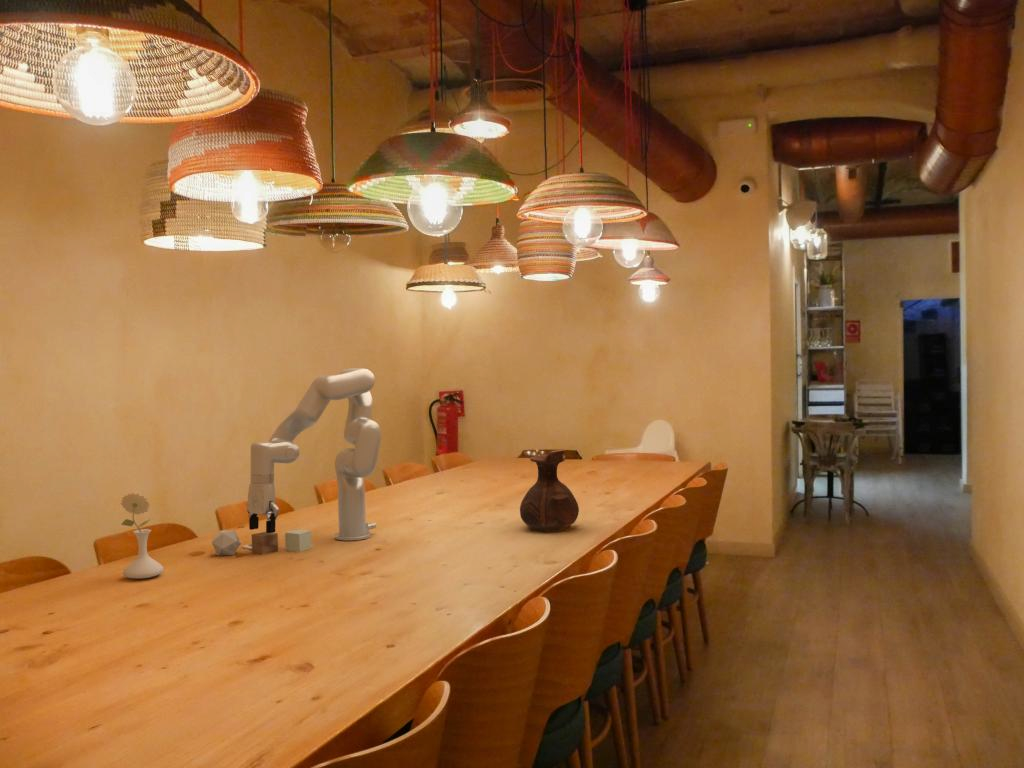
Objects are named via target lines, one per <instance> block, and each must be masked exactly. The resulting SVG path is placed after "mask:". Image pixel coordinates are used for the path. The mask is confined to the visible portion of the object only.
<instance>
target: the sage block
mask: <svg viewBox="0 0 1024 768" xmlns="http://www.w3.org/2000/svg"><path fill="white" fill-rule="evenodd" d="M284 537H285V539H284V540H285V547H284V548H285V551H287V550H288V551H289V552H297V551H298V552H299V553H301V552H303V551H306V550H309V549H312V530H307V529H294V530H289V531H287V532H284ZM288 551H287V552H288Z"/></svg>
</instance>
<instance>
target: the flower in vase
mask: <svg viewBox="0 0 1024 768" xmlns="http://www.w3.org/2000/svg"><path fill="white" fill-rule="evenodd" d="M121 499H122V500H121V502H120V505H122V508H123V509H125V511H126V512H128V513H130V514H132V520H131V519H124V521H123V522H122V523H121V525H122V526H126V527H132V526H134V525H135V526H136V528H137V529H136V530H133V531H132V533H133V534H134V535H135V537H136V539H137V546H138V553H137V556H136V558H135V559H134V560H132V561H131V563H129V564H127V566H126V567H125V568H124V569H123V571H122V576H124V577H125V578H128V579H134V580H137V579H138V580H139V579H141V580H143V579H149V578H153V577H156V576H159V575H160V574H162V573H163V572H164V570H165V569H164V566H163V565H162V564H161V563H160V562H158V561H157V560H155V559H153V558H152V557H150V556H149V554H148V549H147V548H148V547H147V546H148V545H147V544H148V538H149V535H150V533H151V532H152V529H149V528H148V529H147V528H145V529H142V528H141V529H140V527H142V526H144V525H146V524H148V523H149V522H150V520H151V518H149V519H147V520H145V521H143V522H141V524H139V525H138V524H137V523H136V521H135V519H134V517H135V515H142V514H144V513H147V512H149V508H150V502H149V501H148V499H147V498H146V497H145V496H144V495H140V494H139V493H136V494H135V493H134V492H132V493H128V494H126V495H123V497H121Z"/></svg>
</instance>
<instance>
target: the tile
mask: <svg viewBox="0 0 1024 768" xmlns="http://www.w3.org/2000/svg"><path fill="white" fill-rule="evenodd" d="M241 548H243V549H248V550H251V551H252V543H250V544H247V545H246V544H245V545H242V547H241Z"/></svg>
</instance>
